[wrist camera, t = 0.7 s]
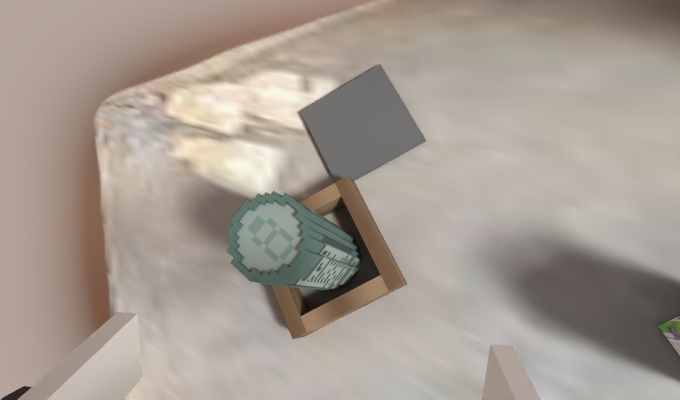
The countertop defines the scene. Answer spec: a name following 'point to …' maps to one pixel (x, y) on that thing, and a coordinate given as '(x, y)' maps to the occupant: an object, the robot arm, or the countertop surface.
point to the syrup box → (672, 332)
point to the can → (290, 245)
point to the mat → (362, 125)
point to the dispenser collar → (364, 294)
